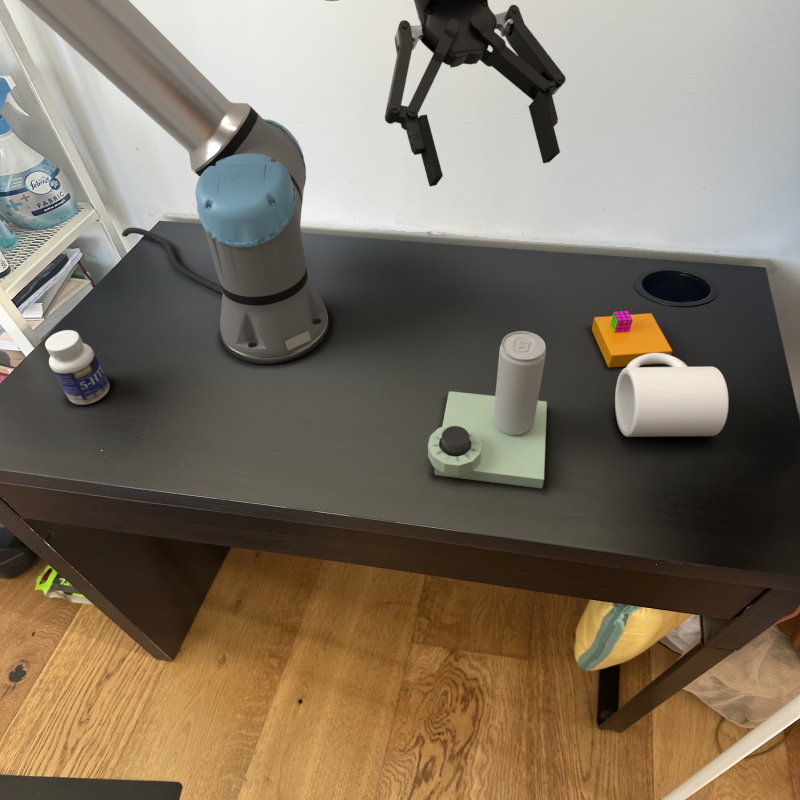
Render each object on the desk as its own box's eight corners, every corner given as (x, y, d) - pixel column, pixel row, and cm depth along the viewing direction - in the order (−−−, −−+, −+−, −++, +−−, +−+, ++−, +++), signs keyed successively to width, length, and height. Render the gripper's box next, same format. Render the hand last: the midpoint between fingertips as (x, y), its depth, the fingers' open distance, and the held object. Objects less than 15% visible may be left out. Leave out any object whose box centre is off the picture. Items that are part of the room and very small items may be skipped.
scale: (425, 480, 70) (424, 461, 68) (441, 399, 79) (441, 379, 77) (541, 495, 68) (546, 476, 66) (545, 410, 77) (548, 390, 75)
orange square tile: (647, 325, 88) (655, 300, 85) (668, 363, 82) (677, 338, 79) (591, 329, 88) (596, 305, 85) (608, 368, 82) (614, 343, 79)
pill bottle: (94, 409, 80) (65, 357, 74) (60, 402, 82) (29, 350, 75) (118, 381, 84) (93, 329, 78) (85, 375, 85) (57, 323, 79)
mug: (713, 450, 72) (737, 401, 66) (624, 450, 72) (641, 402, 67) (682, 378, 80) (701, 329, 75) (603, 379, 81) (616, 331, 75)
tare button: (439, 454, 69) (439, 444, 68) (443, 434, 71) (443, 424, 70) (467, 458, 68) (467, 447, 67) (470, 437, 70) (470, 427, 69)
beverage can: (537, 412, 75) (550, 334, 66) (529, 441, 72) (542, 364, 63) (497, 404, 76) (505, 326, 67) (488, 432, 73) (495, 355, 64)
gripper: (534, -16, 73) (580, 162, 73) (327, 12, 68) (378, 203, 68) (564, -65, 65) (615, 134, 66) (334, -37, 60) (392, 178, 61)
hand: (495, 169), depth 67 cm, fingers open, 13 cm apart
